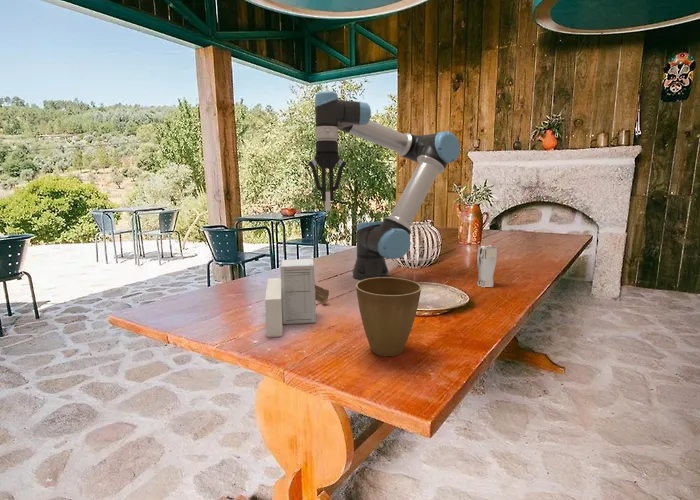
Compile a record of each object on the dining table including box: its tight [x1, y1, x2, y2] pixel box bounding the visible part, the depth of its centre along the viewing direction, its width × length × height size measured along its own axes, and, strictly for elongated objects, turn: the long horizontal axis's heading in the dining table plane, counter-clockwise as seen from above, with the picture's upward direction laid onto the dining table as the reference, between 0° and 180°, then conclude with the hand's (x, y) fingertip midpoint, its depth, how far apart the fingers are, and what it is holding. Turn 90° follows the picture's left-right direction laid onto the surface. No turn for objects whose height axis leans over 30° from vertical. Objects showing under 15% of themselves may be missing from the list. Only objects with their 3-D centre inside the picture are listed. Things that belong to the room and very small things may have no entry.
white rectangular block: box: [264, 277, 283, 338], centre depth 109 cm, size 4×22×10 cm, turn 10°
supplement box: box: [280, 258, 317, 325], centre depth 111 cm, size 10×9×17 cm
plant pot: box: [355, 276, 422, 357], centre depth 89 cm, size 15×15×16 cm
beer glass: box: [476, 245, 498, 288], centre depth 146 cm, size 7×7×15 cm
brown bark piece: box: [315, 284, 330, 307], centre depth 129 cm, size 15×2×5 cm, turn 38°
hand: (327, 210), depth 134 cm, fingers closed
